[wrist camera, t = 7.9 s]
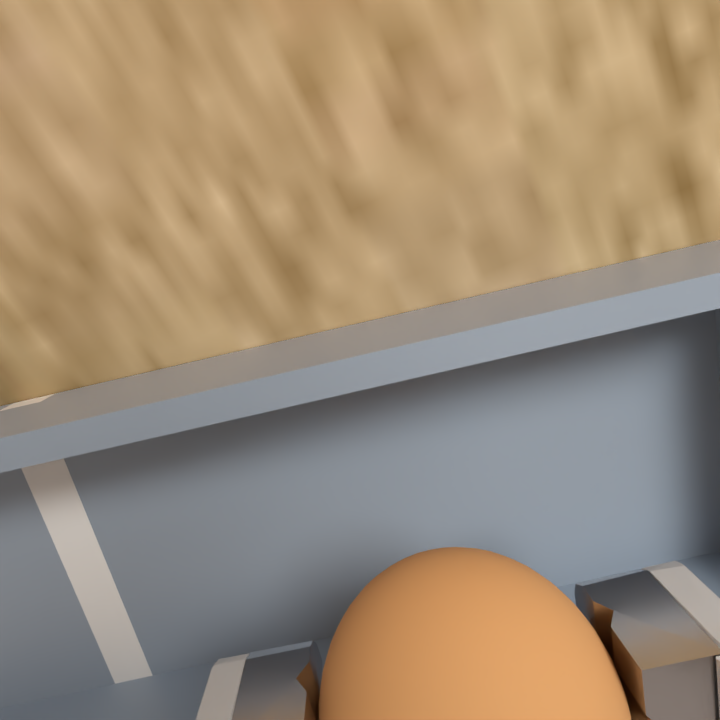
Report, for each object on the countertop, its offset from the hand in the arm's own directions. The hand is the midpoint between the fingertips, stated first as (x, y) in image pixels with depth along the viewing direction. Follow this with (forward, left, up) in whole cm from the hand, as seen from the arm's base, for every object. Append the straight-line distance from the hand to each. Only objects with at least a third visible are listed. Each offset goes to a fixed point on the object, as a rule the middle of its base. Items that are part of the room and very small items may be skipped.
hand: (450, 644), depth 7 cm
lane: (0, -3, -5) cm, 6 cm away
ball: (0, 0, +1) cm, 1 cm away
